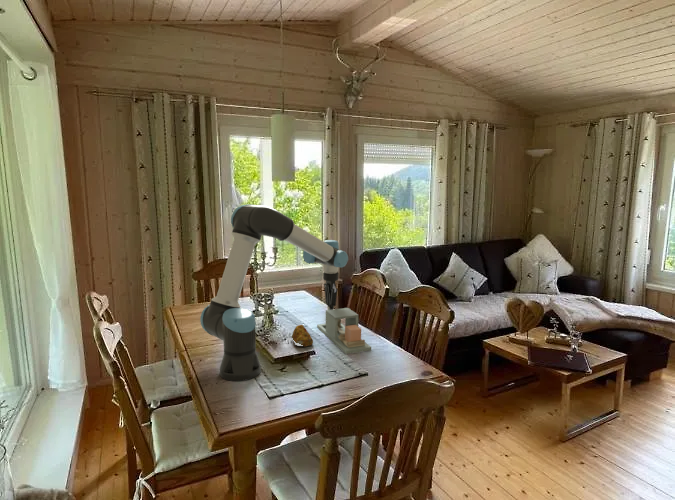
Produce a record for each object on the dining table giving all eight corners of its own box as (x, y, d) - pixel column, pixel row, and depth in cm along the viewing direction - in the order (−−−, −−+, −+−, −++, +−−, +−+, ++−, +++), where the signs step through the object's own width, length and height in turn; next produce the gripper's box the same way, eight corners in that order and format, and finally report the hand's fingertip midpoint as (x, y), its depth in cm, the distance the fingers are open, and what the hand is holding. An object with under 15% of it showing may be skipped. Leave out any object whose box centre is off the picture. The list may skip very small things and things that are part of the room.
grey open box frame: (364, 345, 183) (364, 333, 183) (348, 347, 181) (348, 335, 180) (341, 326, 207) (341, 316, 207) (326, 328, 205) (326, 317, 204)
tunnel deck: (371, 350, 183) (371, 323, 181) (345, 354, 178) (346, 326, 176) (339, 324, 216) (339, 301, 214) (317, 327, 211) (317, 304, 209)
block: (361, 342, 184) (361, 328, 183) (350, 343, 182) (350, 330, 181) (355, 337, 189) (355, 324, 188) (344, 339, 187) (345, 325, 186)
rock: (311, 350, 192) (316, 340, 185) (295, 357, 188) (299, 347, 181) (301, 329, 198) (305, 319, 190) (285, 335, 193) (289, 325, 186)
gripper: (343, 274, 202) (342, 321, 206) (333, 268, 214) (332, 314, 218) (328, 275, 200) (327, 323, 203) (319, 269, 212) (318, 315, 215)
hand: (330, 318), depth 211 cm, fingers closed
